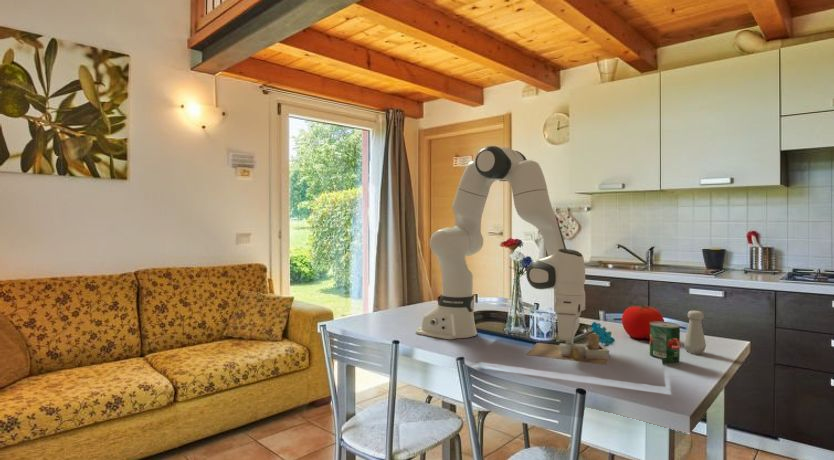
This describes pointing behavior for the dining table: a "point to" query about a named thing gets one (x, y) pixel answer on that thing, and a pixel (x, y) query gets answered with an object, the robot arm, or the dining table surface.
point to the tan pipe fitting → (584, 351)
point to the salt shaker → (695, 333)
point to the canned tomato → (665, 342)
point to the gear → (602, 333)
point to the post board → (554, 352)
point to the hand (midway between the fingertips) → (569, 348)
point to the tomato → (640, 320)
